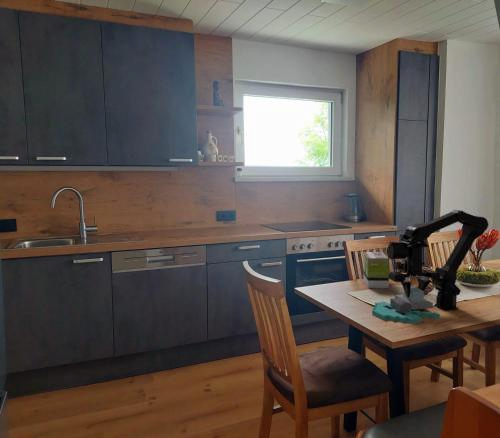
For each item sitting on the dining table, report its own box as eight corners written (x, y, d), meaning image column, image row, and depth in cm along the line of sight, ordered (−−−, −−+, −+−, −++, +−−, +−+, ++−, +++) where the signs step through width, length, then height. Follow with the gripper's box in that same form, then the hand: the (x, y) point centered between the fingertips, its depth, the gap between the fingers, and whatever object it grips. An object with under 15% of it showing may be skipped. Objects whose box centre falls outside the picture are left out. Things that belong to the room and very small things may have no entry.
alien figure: (401, 304, 164) (361, 310, 157) (401, 298, 164) (361, 304, 157) (439, 320, 145) (396, 327, 138) (440, 314, 145) (396, 321, 138)
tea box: (362, 279, 201) (363, 251, 199) (383, 280, 199) (383, 251, 198) (367, 288, 186) (367, 257, 184) (389, 288, 184) (390, 257, 183)
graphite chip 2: (404, 308, 151) (404, 301, 151) (409, 312, 147) (410, 304, 147) (394, 309, 151) (394, 301, 150) (400, 312, 147) (400, 305, 147)
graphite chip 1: (399, 305, 155) (399, 297, 155) (405, 308, 151) (405, 301, 151) (390, 305, 155) (390, 298, 154) (395, 309, 151) (395, 301, 151)
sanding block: (415, 298, 162) (416, 284, 161) (432, 308, 150) (433, 292, 149) (395, 299, 161) (395, 285, 160) (410, 309, 149) (411, 294, 148)
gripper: (425, 253, 163) (423, 290, 164) (382, 255, 160) (381, 292, 162) (441, 258, 152) (440, 298, 153) (396, 260, 149) (395, 300, 151)
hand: (413, 297), depth 155 cm, fingers closed on sanding block, 4 cm apart
